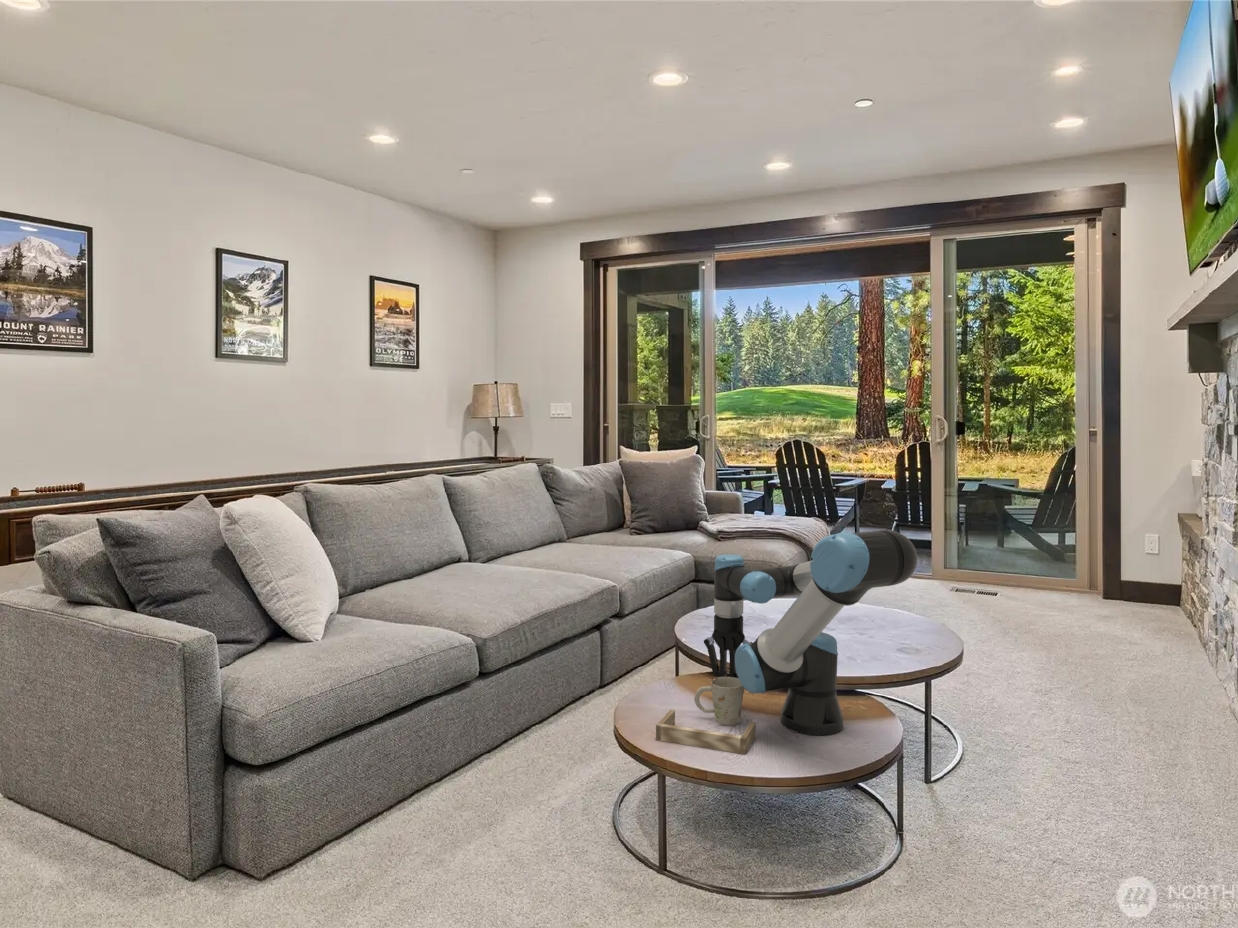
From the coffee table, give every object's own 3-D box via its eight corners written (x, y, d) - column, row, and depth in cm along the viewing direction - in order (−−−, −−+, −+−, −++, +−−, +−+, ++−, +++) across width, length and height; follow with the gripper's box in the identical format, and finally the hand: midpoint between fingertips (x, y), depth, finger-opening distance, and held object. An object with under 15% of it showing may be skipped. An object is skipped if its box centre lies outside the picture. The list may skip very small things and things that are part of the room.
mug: (743, 728, 199) (743, 688, 198) (692, 724, 201) (692, 685, 200) (744, 716, 207) (745, 677, 206) (695, 712, 209) (696, 674, 209)
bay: (755, 736, 194) (755, 721, 194) (745, 754, 184) (745, 739, 184) (670, 723, 202) (670, 709, 202) (655, 739, 192) (656, 725, 191)
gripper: (756, 613, 211) (755, 702, 213) (708, 608, 216) (707, 695, 218) (750, 620, 205) (748, 711, 206) (700, 615, 209) (699, 704, 211)
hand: (727, 703), depth 212 cm, fingers closed
